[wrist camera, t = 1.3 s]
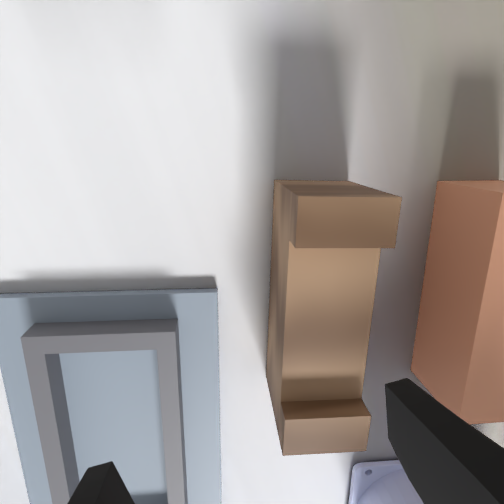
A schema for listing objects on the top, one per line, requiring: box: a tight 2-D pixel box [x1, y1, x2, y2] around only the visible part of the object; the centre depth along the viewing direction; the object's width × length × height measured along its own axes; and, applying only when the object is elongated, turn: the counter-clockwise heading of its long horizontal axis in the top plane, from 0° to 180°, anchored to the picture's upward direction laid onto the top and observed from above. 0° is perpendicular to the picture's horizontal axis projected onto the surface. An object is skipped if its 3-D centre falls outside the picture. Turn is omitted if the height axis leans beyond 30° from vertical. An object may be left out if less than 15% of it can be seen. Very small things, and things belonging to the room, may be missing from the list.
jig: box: [0, 288, 221, 504], centre depth 22 cm, size 12×18×2 cm, turn 179°
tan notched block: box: [266, 180, 402, 456], centre depth 18 cm, size 12×4×6 cm, turn 178°
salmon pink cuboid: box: [411, 180, 504, 424], centre depth 20 cm, size 12×4×5 cm, turn 0°
